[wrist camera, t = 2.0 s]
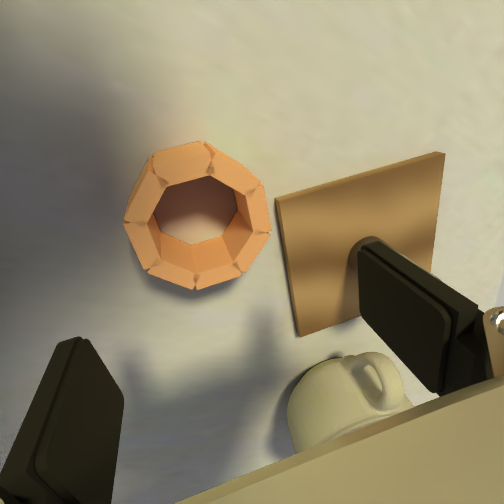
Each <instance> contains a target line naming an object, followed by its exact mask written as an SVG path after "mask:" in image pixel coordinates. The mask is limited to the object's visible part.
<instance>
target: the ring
mask: <svg viewBox="0 0 504 504" xmlns="http://www.w3.org/2000/svg"><path fill="white" fill-rule="evenodd" d="M208 175H210V176H212V177H214V178H216V179H217V180H219V181H221V182H223V183H224V184H226V185H228V186H229V187H231V188H233V189H234V193H235V198H236V202H237V206H238V211H237V212H236V214H235V215H234V217H233V219H232V220H231V222H230V223H229V225H228V227H227V228H226V230H225V231H224V233H223V235H222V236H220V237H217V238H214V239H210V240H207V241H204V242H200V243H197V244H194V245H189V244H187V243H184V242H182V241H180V240H178V239H175V238H173V237H171V236H169V235H166V234H164V233H162V232H160V229H159V227H158V224H157V222H156V219H155V217H154V214H153V211H154V209H155V207H156V205H157V203H158V202H159V200H160V198H161V196H162V194H163V192H164V190H165V189H166V187H168V186H171V185H175V184H179V183H182V182H186V181H190V180H194V179H197V178H201V177H205V176H208ZM123 220H124V224H123V225H124V228H125V230H126V232H127V234H128V237H129V239H130V241H131V243H132V245H133V248H134V250H135V252H136V254H137V256H138V259H139V261H140V263H141V265H142V267H143V270H145V269H148V274H151V275H153V276H156V277H159V278H161V279H164V280H167V281H170V282H172V283H175V284H178V285H180V286H183V287H186V288H188V289H191V290H193V288H194V286H195V285H196V288H197V290H199V289H202V288H205V287H208V286H211V285H214V284H218V283H221V282H224V281H227V280H230V279H233V278H236V277H239V276H241V272H240V271H242V272H244V273H246V271H247V270H248V268H249V267H250V265H251V264H252V262H253V261H254V259H255V258H256V256H257V255H258V254H259V252H260V251H261V249H262V248H263V246H264V245H265V243H266V242H267V240H268V239H269V237H270V234H269V233H268V232H270V231H272V230H271V225H270V219H269V213H268V208H267V202H266V197H265V191H264V186H263V185H262V184H261V183H260V180H259V179H258V178H257V177H255V176H254V175H253V174H252V173H251V172H250V171H249V170H248V169H247V168H245V167H244V166H243V165H242V164H240V163H238V162H237V161H235V160H234V159H232V158H230V157H229V156H227V155H226V154H224V153H222V152H221V151H219V150H218V149H216V148H215V147H213V146H211V145H210V144H208V143H207V142H205V143H204V145H203V144H202V142H201V141H198V142H194V143H190V144H186V145H182V146H178V147H174V148H170V149H166V150H162V151H158V152H154V158H153V157H151V156H150V157H149V159H148V160H147V162H146V164H145V166H144V168H143V170H142V172H141V174H140V176H139V178H138V180H137V182H136V184H135V186H134V188H133V190H132V192H131V194H130V196H129V200H128V204H127V207H126V211H125V215H124V219H123Z"/></svg>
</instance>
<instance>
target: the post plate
mask: <svg viewBox="0 0 504 504" xmlns="http://www.w3.org/2000/svg"><path fill="white" fill-rule="evenodd" d="M444 161H445V153H441V152H433V153H429V154H426V155H423V156H419V157H416V158H412V159H409V160H405V161H402V162H398V163H395V164H391V165H388V166H385V167H381V168H378V169H374V170H371V171H367V172H364V173H360V174H357V175H353V176H350V177H347V178H343V179H340V180H336V181H333V182H329V183H326V184H322V185H319V186H315V187H312V188H309V189H305V190H302V191H298V192H295V193H291V194H288V195H284V196H281V197H277V198H275V201H276V207H277V213H278V219H279V225H280V231H281V237H282V244H283V250H284V256H285V262H286V268H287V274H288V280H289V286H290V292H291V298H292V305H293V311H294V317H295V323H296V329H297V332H298V334H299V335H300V337H303V336H306V335H308V334H311V333H314V332H317V331H320V330H322V329H325V328H328V327H331V326H334V325H336V324H339V323H342V322H345V321H347V320H350V319H353V318H356V317H359V316H361V314H360V310H359V289H358V265H357V253H358V251H360V250H361V246H363V245H365V244H369V243H372V242H375V241H380V242H382V243H383V244H385V245H386V246H388V247H389V248H391V249H392V250H394V251H395V252H397V253H398V254H400V255H402V256H403V257H405V258H406V259H408V260H409V261H411V262H412V263H414V264H415V265H417V266H418V267H420V268H422V269H423V270H425V271H426V272H428V273H429V274H431V273H430V271H431V263H432V255H433V248H434V240H435V232H436V224H437V216H438V208H439V200H440V193H441V185H442V177H443V169H444ZM431 275H432V276H434V275H433V274H431ZM434 277H435V278H437V277H436V276H434ZM437 279H438V280H440V279H439V278H437ZM440 281H441V280H440Z"/></svg>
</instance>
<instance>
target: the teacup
mask: <svg viewBox="0 0 504 504" xmlns="http://www.w3.org/2000/svg"><path fill="white" fill-rule="evenodd" d="M404 391H405V390H404V384H403V380H402V378H401V375H400V372H399V370H398V369H397V367H396V366H395V364H394V363H393V362H392V361H391V360H390V359H389V358H388V357H387V356H385V355H383V354H381V353H378V352H366V353H362V354H359V355H356V356H354V355H348V356H345V357H344V358H335V359H330V360H327V361H324V362H322V363H320V364H318V365H316V366H314V367H313V368H312V369H310V370H309V371H308V372H307V373H306V374H305V375H304V376H303V377H302V378H301V380H300V381H299V383H298V384H297V385H296V387H295V388H294V390H293V392H292V393H291V396H290V398H289V402H288V407H287V420H288V426H289V430H290V434H291V438H292V442H293V445H294V449H295V452H296V454H298V453H300V452H303V451H305V450H308V449H310V448H313V447H315V446H318V445H320V444H322V443H325V442H327V441H330V440H332V439H335V438H337V437H340V436H342V435H345V434H347V433H350V432H352V431H355V430H357V429H360V428H363V427H365V426H368V425H370V424H373V423H375V422H378V421H380V420H383V419H385V418H388V417H390V416H393V415H395V414H398V413H400V412H403V411H405V410H408V409H410V408H413V407H414V406H413V404H412V403H411V402H410V400H409V399H408V398H407V396H406V395H405V394H404Z"/></svg>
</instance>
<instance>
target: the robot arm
mask: <svg viewBox="0 0 504 504" xmlns="http://www.w3.org/2000/svg"><path fill="white" fill-rule="evenodd" d="M357 265H358V289H359V310H360V314H361V316H362V318H363V319H364V320H365V321H366V322H367V324H368V325H369V326H370V327H371V328H372V329H373V330H374V331H375V332H376V333H377V335H378V336H379V337H380V338H381V339H382V340H383V341H384V342H385V343H386V344H387V345H388V347H389V348H390V349H391V350H392V351H393V352H394V353H395V354H396V355H397V356H398V358H399V359H400V360H401V361H402V362H403V363H404V364H405V365H406V366H407V367H408V368H409V370H410V371H411V372H412V373H413V374H414V375H415V376H416V377H417V378H418V379H419V381H420V382H421V383H422V384H423V385H424V386H425V387H426V388H427V389H428V390H429V391H430V392H432V393H437V394H438V395H439V396H440V397H439V398H436V399H434V400H431V401H428V402H426V403H423V404H421V405H418V406H415V407H413V408H410V409H408V410H405V411H403V412H400V413H398V414H395V415H393V416H390V417H388V418H385V419H383V420H380V421H378V422H375V423H373V424H370V425H368V426H365V427H363V428H360V429H357V430H355V431H352V432H350V433H347V434H345V435H342V436H340V437H337V438H335V439H332V440H330V441H327V442H325V443H322V444H320V445H318V446H315V447H313V448H310V449H308V450H305V451H303V452H300V453H298V454H295V455H293V456H290V457H288V458H285V459H283V460H280V461H278V462H275V463H273V464H270V465H268V466H265V467H263V468H260V469H258V470H256V471H253V472H251V473H248V474H246V475H243V476H241V477H238V478H236V479H233V480H231V481H228V482H226V483H224V484H221V485H219V486H216V487H214V488H211V489H209V490H206V491H204V492H202V493H199V494H197V495H194V496H192V497H189V498H187V499H184V500H182V501H180V502H177V503H175V504H504V307H503V306H501V307H495V308H492V309H490V310H488V311H486V312H485V313H484V312H482V311H481V310H479V309H478V305H477V304H475V303H474V302H472V301H471V300H469V299H468V298H466V297H465V296H463V295H461V294H460V293H458V292H457V291H455V290H454V289H452V288H451V287H449V286H448V285H446V284H445V283H443V282H441V281H440V280H438V279H437V278H435V277H434V276H432V275H431V274H429V273H428V272H426V271H425V270H423V269H422V268H420V267H418V266H417V265H415V264H414V263H412V262H411V261H409V260H408V259H406V258H405V257H403V256H402V255H400V254H398V253H397V252H395V251H394V250H392V249H391V248H389V247H388V246H386V245H385V244H383V243H382V242H380V241H375V242H372V243H369V244H365V245H363V246H361V250H360V251H358V253H357ZM123 409H124V397H123V394H122V392H121V390H120V388H119V387H118V385H117V384H116V382H115V380H114V379H113V377H112V376H111V374H110V372H109V371H108V369H107V368H106V366H105V364H104V363H103V361H102V360H101V358H100V357H99V355H98V353H97V352H96V350H95V349H94V347H93V345H92V344H91V342H90V341H89V340H88V339H82V338H81V337H75V338H71V339H68V340H65V341H62V342H60V343H58V344H57V346H56V348H55V350H54V353H53V355H52V357H51V360H50V362H49V364H48V366H47V369H46V371H45V373H44V375H43V378H42V380H41V382H40V385H39V387H38V389H37V391H36V394H35V396H34V398H33V400H32V403H31V405H30V407H29V410H28V412H27V414H26V416H25V419H24V421H23V423H22V425H21V428H20V430H19V432H18V435H17V437H16V439H15V441H14V444H13V446H12V448H11V451H10V453H9V455H8V457H7V460H6V462H5V464H4V466H3V469H2V471H1V473H0V504H111V500H112V492H113V485H114V477H115V470H116V462H117V454H118V447H119V439H120V432H121V424H122V417H123Z"/></svg>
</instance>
